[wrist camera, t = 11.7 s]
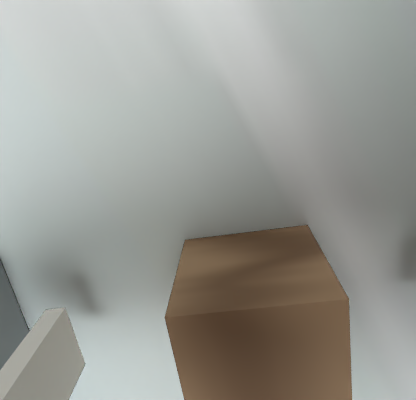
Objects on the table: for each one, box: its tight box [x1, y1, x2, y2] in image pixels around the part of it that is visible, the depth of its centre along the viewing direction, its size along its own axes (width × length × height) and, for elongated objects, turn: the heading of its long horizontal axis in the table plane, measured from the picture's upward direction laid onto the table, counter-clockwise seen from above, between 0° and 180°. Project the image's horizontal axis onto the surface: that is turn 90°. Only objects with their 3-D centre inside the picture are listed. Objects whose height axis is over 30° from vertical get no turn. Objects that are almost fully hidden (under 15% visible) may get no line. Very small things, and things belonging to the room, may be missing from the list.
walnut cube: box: [165, 225, 352, 400], centre depth 12 cm, size 5×5×5 cm
